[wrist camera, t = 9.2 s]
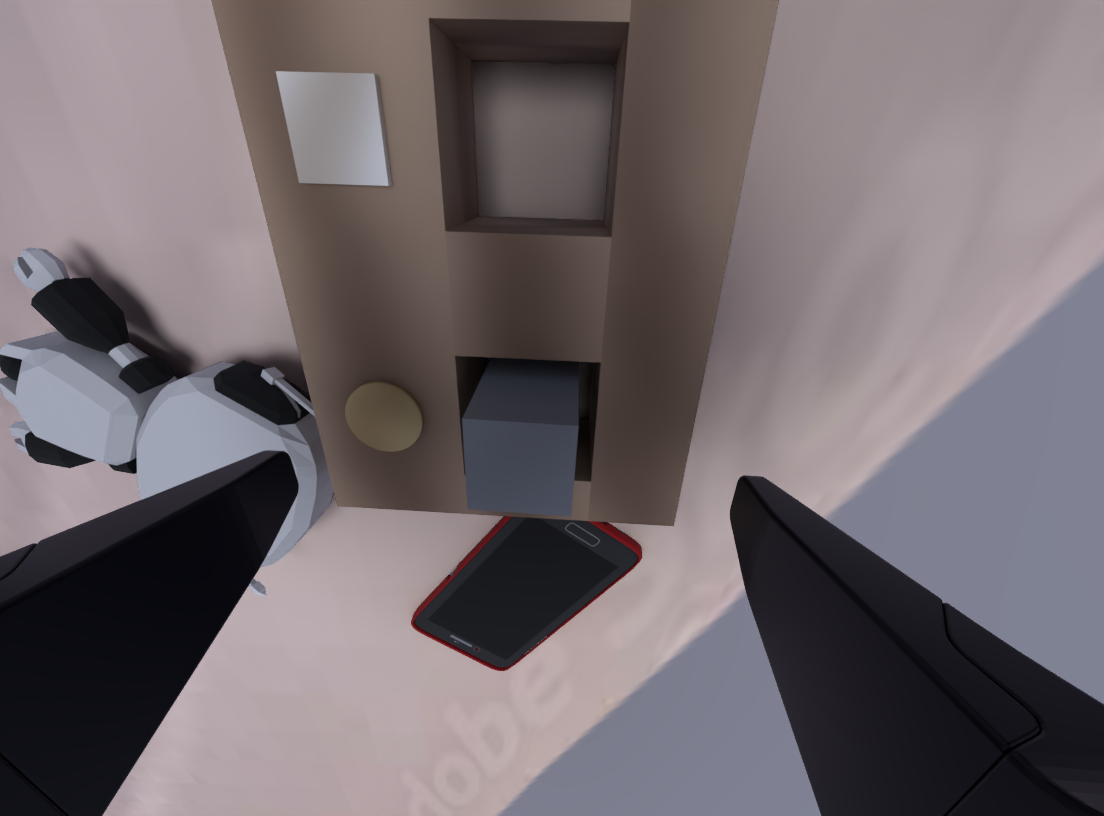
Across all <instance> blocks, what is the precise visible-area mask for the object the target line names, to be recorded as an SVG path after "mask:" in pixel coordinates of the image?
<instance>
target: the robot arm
mask: <svg viewBox="0 0 1104 816" xmlns="http://www.w3.org/2000/svg"><path fill="white" fill-rule="evenodd" d="M298 491H299V483H298V480H297V476H296V473H295V470H294V467H293V464H292V460H291V457H290V455H289V454H288V453H287V452H285V451H274V450H265V451H261V452H259V453H256V454H254V455H252V456H249V457H247V458H244V459H242V460H239V461H237V462H234V463H232V464H229V465H227V466H224V467H222V468H219V469H217V470H214V471H212V472H209V473H207V474H204V475H202V476H199V477H197V478H194V479H192V480H189V481H187V482H185V483H182V484H180V485H177V486H175V487H172V488H170V489H167V490H165V491H162V492H160V493H157V494H155V495H152V496H150V497H147V498H145V499H142V500H140V501H137V502H135V503H132V504H130V505H127V506H125V507H122V508H120V509H118V510H115V511H113V512H110V513H108V514H105V515H103V516H100V517H98V518H95V519H93V520H90V521H88V522H85V523H83V524H80V525H78V526H75V527H73V528H70V529H68V530H65V531H63V532H60V533H58V534H56V535H53V536H51V537H48V538H46V539H43V540H41V541H40V542H39V543H38V544H36V543H34V544H30V545H28V546H25V547H23V548H21V549H18V550H16V551H13V552H11V553H8V554H6V555H3V556H1V557H0V816H102V815H103V814H104V812H105V810H106V809H107V807H108V806H109V804H110V803H111V801H112V799H113V798H114V796H115V795H116V793H117V792H118V790H119V788H120V787H121V785H122V784H123V782H124V781H125V779H126V777H127V776H128V774H129V773H130V771H131V770H132V768H133V766H134V765H135V763H136V762H137V760H138V759H139V757H140V755H141V754H142V752H143V751H144V749H145V748H146V746H147V744H148V743H149V741H150V740H151V738H152V737H153V735H154V733H155V732H156V730H157V729H158V727H159V726H160V724H161V722H162V721H163V719H164V718H165V716H166V715H167V713H168V711H169V710H170V708H171V707H172V705H173V704H174V702H175V700H176V699H177V697H178V696H179V694H180V693H181V691H182V689H183V688H184V686H185V685H186V683H187V682H188V680H189V678H190V677H191V675H192V674H193V672H194V671H195V669H196V667H197V666H198V664H199V663H200V661H201V660H202V658H203V656H204V655H205V653H206V652H207V650H208V649H209V647H210V645H211V644H212V642H213V641H214V639H215V638H216V636H217V634H218V633H219V631H220V630H221V628H222V627H223V625H224V623H225V622H226V620H227V619H228V617H229V616H230V614H231V613H232V611H233V609H234V608H235V606H236V605H237V603H238V602H239V600H240V598H241V597H242V595H243V594H244V592H245V591H246V589H247V587H248V586H249V584H250V583H251V581H252V580H253V578H254V576H255V575H256V573H257V572H258V570H259V568H260V567H261V565H262V563H263V562H264V560H265V558H266V556H267V554H268V552H269V551H270V549H271V547H272V545H273V543H274V541H275V539H276V537H277V535H278V533H279V531H280V529H281V527H282V525H283V523H284V521H285V519H286V517H287V515H288V513H289V511H290V509H291V507H292V505H293V503H294V501H295V499H296V497H297V495H298ZM730 520H731V525H732V530H733V535H734V540H735V544H736V549H737V554H738V558H739V563H740V568H741V572H742V577H743V581H744V586H745V590H746V593H747V597H748V600H749V603H750V606H751V609H752V612H753V615H754V618H755V621H756V624H757V627H758V630H759V633H760V636H761V639H762V642H763V645H764V648H765V651H766V653H767V656H768V659H769V662H770V665H771V668H772V671H773V674H774V677H775V680H776V683H777V686H778V689H779V692H780V694H781V698H782V701H783V704H784V706H785V710H786V712H787V715H788V718H789V721H790V724H791V727H792V730H793V733H794V736H795V739H796V742H797V745H798V748H799V751H800V754H801V756H802V760H803V763H804V765H805V769H806V771H807V775H808V777H809V780H810V783H811V786H812V789H813V792H814V795H815V798H816V801H817V804H818V807H819V810H820V813H821V816H1104V704H1102V703H1101V702H1099V701H1098V700H1096V699H1094V698H1092V697H1091V696H1089V695H1088V694H1086V693H1085V692H1083V691H1081V690H1080V689H1078V688H1076V687H1075V686H1073V685H1072V684H1070V683H1068V682H1067V681H1065V680H1063V679H1062V678H1060V677H1059V676H1057V675H1056V674H1054V673H1053V672H1051V671H1049V670H1048V669H1046V668H1044V667H1043V666H1041V665H1040V664H1038V663H1037V662H1035V661H1034V660H1032V659H1030V658H1029V657H1027V656H1025V655H1024V654H1022V653H1021V652H1019V651H1017V650H1016V649H1015V648H1013V647H1011V646H1010V645H1009V644H1007V643H1006V642H1004V641H1003V640H1001V639H999V638H998V637H996V636H995V635H993V634H992V633H991V632H989V631H987V630H986V629H984V628H983V627H981V626H980V625H979V624H977V623H975V622H974V621H973V620H971V619H970V618H968V617H967V616H965V615H964V614H962V613H961V612H960V611H958V610H957V609H955V608H954V607H952V606H951V605H949V604H948V603H943V602H942V600H941V599H940V598H939V597H938V596H936V595H935V594H933V593H932V592H930V591H929V590H927V589H926V588H924V587H923V586H921V585H920V584H919V583H917V582H915V581H914V580H913V579H911V578H910V577H908V576H907V575H906V574H904V573H903V572H901V571H900V570H898V569H897V568H895V567H894V566H892V565H891V564H889V563H888V562H886V561H885V560H884V559H882V558H881V557H879V556H878V555H876V554H875V553H874V552H872V551H871V550H869V549H868V548H866V547H865V546H863V545H862V544H860V543H859V542H857V541H856V540H855V539H853V538H852V537H850V536H849V535H847V534H846V533H844V532H843V531H842V530H840V529H838V528H837V527H836V526H834V525H833V524H831V523H830V522H828V521H827V520H825V519H824V518H823V517H821V516H820V515H818V514H817V513H815V512H814V511H812V510H811V509H809V508H808V507H807V506H805V505H804V504H802V503H801V502H799V501H798V500H796V499H795V498H793V497H792V496H791V495H789V494H788V493H786V492H785V491H783V490H782V489H780V488H779V487H777V486H776V485H775V484H773V483H772V482H770V481H769V480H767V479H766V478H764V477H761V476H742V477H740V478H739V480H738V482H737V486H736V490H735V493H734V497H733V501H732V505H731V509H730Z"/></svg>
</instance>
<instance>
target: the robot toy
mask: <svg viewBox="0 0 1104 816" xmlns="http://www.w3.org/2000/svg"><path fill="white" fill-rule="evenodd" d="M20 254H21V255H22V257H17V258H16V260H15V261H14V267H13V270H14V272H15V273H16V274H17V276H18V277H19V279H20V280H21V281H22V283H23V284H24V285H25V286H27V287H29V288H31V289H33V290H35V291H37V292H38V293H37V294H36V295H35V296H34V297H33V298H32V302H31V305H32V306H33V307H34V308H35V309H36V310H37V311H38V312H39V313H40V314H41V315H42V316H43V317H44V318H45V319H46V320H48V321H49V322H50V323H51V324H52V325H53V326H54V327H55V328H56V329H57V330H58V331H57V332H53V333H49V334H45V335H41V336H37V337H33V338H29V339H25V340H21V341H17V342H13V343H9V344H6V345H5V346H4V347H3V348H2V349H1V350H0V367H1V370H2V372H3V373H4V374H5V375H7V376H8V377H5V378H2V379H0V388H1V390H2V392H3V394H4V396H5V398H6V399H7V400H9V401H10V402H11V403H12V404H14V405H15V406H16V407H17V408H18V412H19V414H20V415H21V417H22V418H23V419H24V421H23V422H15V423H14V424H13V425H12V426H10V427H9V429H10V432H11V434H12V435H13V436H16V437H19V439H15V442H16V445H17V446H18V448H19V450H20V451H22V452H25V453H27V454H29V456H31V457H32V458H33V459H34V460H35V461H37V462H39V463H45V464H50V465H56V466H61V467H67V468H72V467H75V466H79V465H82V464H86V463H89V462H92V461H96V460H97V461H100V462H103V463H107V464H109V466H110V467H111V468H112V469H113V470H115V471H121V472H127V473H132V474H135V473H137V484H138V489H139V493H140V498H141V500H142V499H145V498H147V497H150V496H152V495H155V494H157V493H160V492H162V491H165V490H167V489H170V488H172V487H175V486H177V485H180V484H182V483H185V482H187V481H189V480H192V479H194V478H197V477H199V476H202V475H204V474H207V473H209V472H212V471H214V470H217V469H219V468H222V467H224V466H227V465H229V464H232V463H234V462H237V461H239V460H242V459H244V458H247V457H249V456H252V455H254V454H256V453H259V452H261V451H265V450H274V451H285V452H287V453H288V454H289V455H290V457H291V460H292V464H293V467H294V470H295V473H296V476H297V480H298V483H299V491H298V495H297V497H296V499H295V501H294V503H293V505H292V507H291V509H290V511H289V513H288V515H287V517H286V519H285V521H284V523H283V525H282V527H281V529H280V531H279V533H278V535H277V537H276V539H275V541H274V543H273V545H272V547H271V549H270V551H269V552H268V554H267V556H266V558H265V560H264V562H263V563H262V565H261V567H264V566H267V565H271V564H273V563H275V562H277V561H278V560H280V559H281V558H282V557H283V556H285V555H286V554H287V553H288V552H289V551H290V550H291V549H292V548H293V547H294V546H295V545H296V544H297V543H298V541H299V540H300V539H301V538H302V537H303V536H304V535H305V534H306V533H307V531H308V530H309V529H310V528H311V527H312V526H313V525H314V523H315V522H316V521H317V520H318V518H319V517H320V516H321V515H322V513H323V512H324V511H325V510H326V509H327V507H328V506H329V505H330V504H331V500H332V496H333V492H334V491H333V487H332V483H331V479H330V475H329V471H328V467H327V463H326V458H325V454H324V450H323V446H322V442H321V438H320V434H319V430H318V426H317V422H316V418H315V414H314V410H313V406H312V402H311V398H310V395H309V394H307V393H306V392H304V391H303V390H301V389H300V388H298V387H297V386H296V385H294V384H293V383H291V382H289V381H288V380H286V379H284V376H285V375H283V374H282V373H281V372H280V371H279V370H278V369H276V368H275V367H271V368H265V367H263V366H259V365H255V364H252V363H249V362H246V361H242V362H240V363H237V364H232V363H225V362H218V363H216V364H214V365H211V366H209V367H207V368H204V369H202V370H200V371H198V372H195V373H193V374H191V375H188V376H186V377H184V378H181V379H177V378H176V377H175V376H174V375H175V374H174V373H173V372H172V371H171V370H170V369H169V368H168V367H167V366H166V365H165V364H164V363H163V362H162V361H161V360H160V359H159V357H158V356H148V355H147V354H145V353H144V352H142V351H141V350H139V349H138V348H136V347H135V346H134V345H132V344H131V343H129V336H128V330H127V326H126V322H125V317H124V313H123V311H122V310H121V309H120V308H119V307H118V306H117V305H116V304H115V303H114V302H113V301H112V300H111V299H110V298H109V297H108V296H107V295H106V294H105V293H104V292H103V291H102V290H101V288H100V287H99V286H98V285H97V284H96V283H95V282H94V281H93V280H92V279H91V278H72V279H70V278H69V275H68V273H67V270H66V268H65V266H64V263H63V262H62V261H61V260H60V259H58V258H57V257H56V256H54V255H53V254H51V253H50V252H49V251H47V250H45V249H39V248H28V249H24V250H23V251H22V252H21V253H20ZM249 586H250V587H251V588H250V589H251V590H252V591H253V592H254V593H255V594H257V595H264V596H266V590H265V587H264V586H263V585H262V584H261V583H260V582H259V581H258V582H257V581H255V580H254V579H253V580H252V581H251V583H250V584H249Z"/></svg>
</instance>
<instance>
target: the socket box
mask: <svg viewBox="0 0 1104 816" xmlns="http://www.w3.org/2000/svg"><path fill="white" fill-rule="evenodd" d="M212 4H213V8H214V12H215V17H216V21H217V25H218V29H219V33H220V37H221V41H222V45H223V49H224V53H225V57H226V61H227V65H228V69H229V73H230V77H231V81H232V85H233V89H234V93H235V97H236V101H237V105H238V109H239V113H240V117H241V121H242V125H243V129H244V133H245V137H246V141H247V145H248V149H249V153H250V157H251V161H252V165H253V169H254V173H255V177H256V181H257V185H258V189H259V193H260V197H261V201H262V205H263V209H264V213H265V217H266V221H267V225H268V229H269V233H270V238H271V242H272V246H273V250H274V254H275V258H276V262H277V266H278V270H279V274H280V278H281V282H282V286H283V290H284V294H285V298H286V302H287V306H288V310H289V314H290V318H291V322H292V326H293V330H294V334H295V338H296V342H297V346H298V350H299V354H300V358H301V362H302V366H303V370H304V374H305V378H306V382H307V386H308V390H309V394H310V398H311V402H312V406H313V410H314V414H315V418H316V422H317V426H318V430H319V434H320V438H321V442H322V446H323V450H324V454H325V458H326V463H327V467H328V471H329V475H330V479H331V483H332V487H333V491H334V495H335V499H336V503H337V506H345V507H361V508H378V509H395V510H412V511H429V512H445V513H462V514H479V515H496V516H512V517H529V518H546V519H563V520H580V521H596V522H613V523H630V524H647V525H664V526H674V522H675V517H676V512H677V507H678V502H679V497H680V492H681V487H682V482H683V477H684V472H685V467H686V462H687V457H688V452H689V447H690V442H691V437H692V432H693V427H694V422H695V417H696V412H697V407H698V402H699V397H700V392H701V387H702V382H703V377H704V372H705V367H706V362H707V357H708V352H709V347H710V342H711V337H712V332H713V327H714V322H715V317H716V312H717V307H718V303H719V298H720V293H721V288H722V283H723V278H724V273H725V268H726V263H727V258H728V253H729V248H730V243H731V238H732V233H733V228H734V223H735V218H736V213H737V208H738V203H739V198H740V193H741V188H742V183H743V178H744V173H745V168H746V163H747V158H748V153H749V148H750V143H751V138H752V133H753V128H754V123H755V118H756V113H757V108H758V103H759V98H760V93H761V88H762V83H763V78H764V73H765V68H766V63H767V58H768V53H769V48H770V43H771V38H772V33H773V28H774V23H775V18H776V14H777V9H778V4H779V0H212ZM471 60H474V61H519V62H565V63H610V64H616V67H615V80H614V93H613V107H612V120H611V133H610V147H609V160H608V173H607V187H606V200H605V213H604V221H603V220H574V219H546V218H517V217H488V216H478V197H477V175H476V153H475V131H474V109H473V87H472V65H471ZM485 357H492V358H514V359H535V360H557V361H578V362H593V373H592V387H591V400H590V413H589V419H579V428H578V440H577V452H576V465H575V477H574V490H573V502H572V514H571V516H556V515H542V514H528V513H514V512H500V511H486V510H471V509H467V492H466V475H465V458H464V441H463V424H462V418H463V416H464V414H465V412H466V410H467V407H468V405H469V403H470V401H471V399H472V397H473V395H474V393H475V391H476V388H477V386H478V384H479V382H480V380H481V378H482V376H483V374H484V372H485Z"/></svg>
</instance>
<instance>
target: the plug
mask: <svg viewBox="0 0 1104 816" xmlns="http://www.w3.org/2000/svg"><path fill="white" fill-rule="evenodd" d="M462 424H463V441H464V458H465V475H466V492H467V509H471V510H486V511H500V512H514V513H528V514H542V515H556V516H571V514H572V502H573V490H574V477H575V465H576V452H577V440H578V428H579V362H578V361H557V360H535V359H514V358H492V357H491V359H490V361H489V363H488V365H487V367H486V370H485V372H484V374H483V376H482V378H481V380H480V382H479V384H478V386H477V388H476V391H475V393H474V395H473V397H472V399H471V401H470V403H469V405H468V407H467V410H466V412H465V414H464V416H463V418H462Z"/></svg>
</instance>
